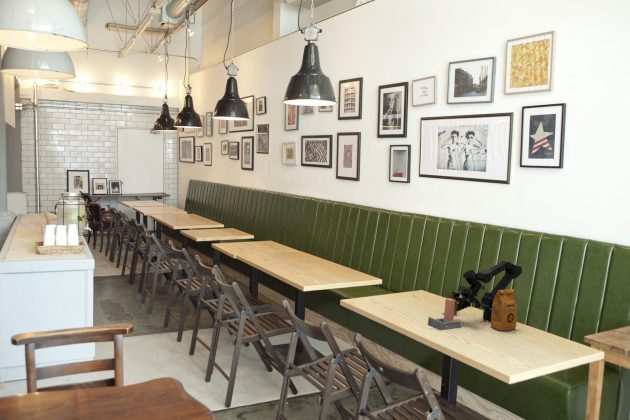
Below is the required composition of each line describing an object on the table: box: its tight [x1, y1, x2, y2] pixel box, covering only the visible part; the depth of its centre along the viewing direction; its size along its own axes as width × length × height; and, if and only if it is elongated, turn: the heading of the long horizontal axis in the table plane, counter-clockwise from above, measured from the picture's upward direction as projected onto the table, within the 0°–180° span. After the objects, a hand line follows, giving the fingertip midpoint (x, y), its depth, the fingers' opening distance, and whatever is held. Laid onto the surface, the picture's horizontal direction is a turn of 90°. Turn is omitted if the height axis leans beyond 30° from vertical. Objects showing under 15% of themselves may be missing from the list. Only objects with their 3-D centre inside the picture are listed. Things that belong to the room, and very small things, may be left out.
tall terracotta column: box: [443, 298, 455, 323], centre depth 292 cm, size 3×5×13 cm, turn 28°
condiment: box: [441, 293, 461, 317], centre depth 315 cm, size 7×8×12 cm
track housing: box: [427, 316, 463, 331], centre depth 291 cm, size 15×10×4 cm
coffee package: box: [490, 289, 518, 331], centre depth 290 cm, size 10×12×22 cm
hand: (456, 310), depth 294 cm, fingers closed
